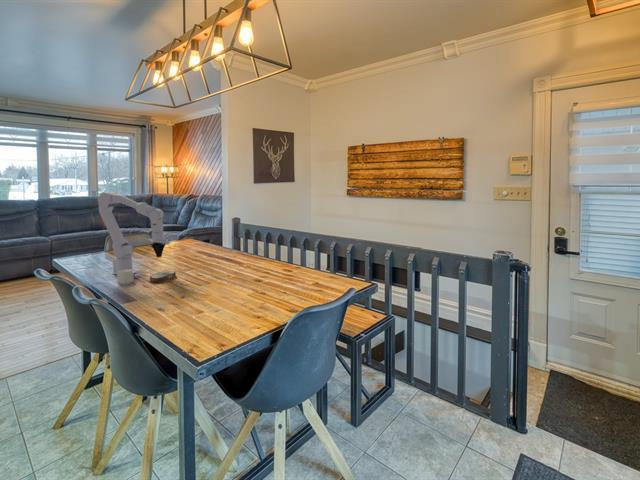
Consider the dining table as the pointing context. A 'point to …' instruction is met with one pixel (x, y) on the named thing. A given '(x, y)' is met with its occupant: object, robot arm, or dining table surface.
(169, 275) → the tin
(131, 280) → the grey block
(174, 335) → the dining table surface
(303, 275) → the dining table surface
